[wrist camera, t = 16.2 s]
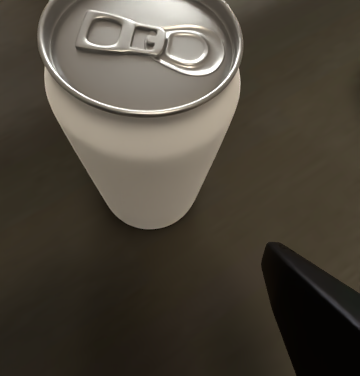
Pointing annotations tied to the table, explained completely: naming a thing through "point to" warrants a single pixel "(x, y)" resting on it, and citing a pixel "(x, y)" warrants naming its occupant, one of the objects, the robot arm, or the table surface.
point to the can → (143, 96)
